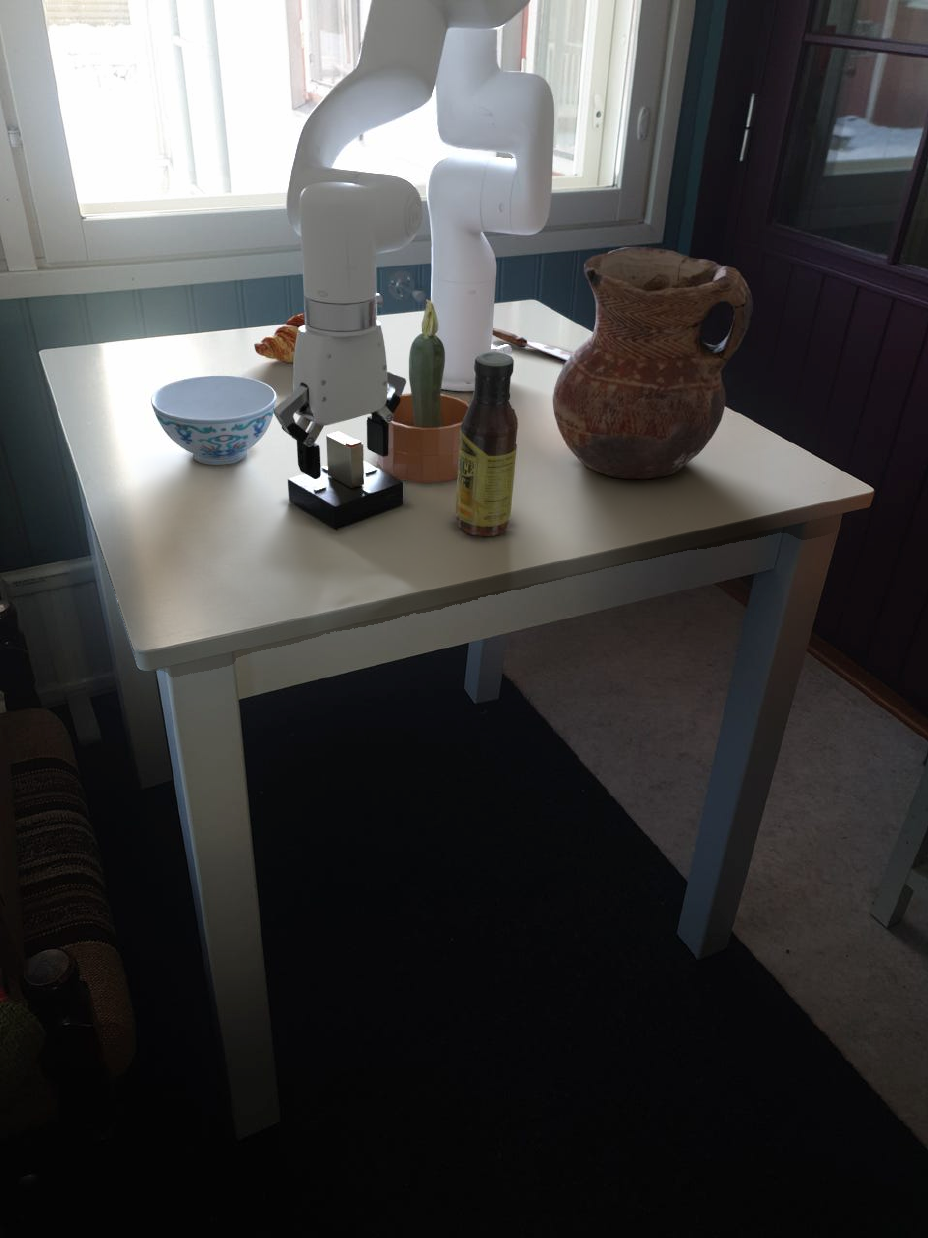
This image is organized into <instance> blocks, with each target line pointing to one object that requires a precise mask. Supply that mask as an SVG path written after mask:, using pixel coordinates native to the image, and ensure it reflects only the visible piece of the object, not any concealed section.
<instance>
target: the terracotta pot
mask: <svg viewBox="0 0 928 1238" xmlns="http://www.w3.org/2000/svg"><path fill="white" fill-rule="evenodd" d="M400 399H401V401H400V404H399V405H398V407H397V408H396V410H395V411H394V413H393V415H394V418H393V421H392V422H390V423H389V443H388V456H385V457H382V456H380V455H378V454H376V460H377V461H376V462H377V465H378V468H379V469H380V470H382V471H384V472H385V473H387V474H389V475H391V476H393V477H395V478H397V479H399V480H401V481H407V482H412V483H423V484H424V483H426V484H427V483H429V484H430V483H441V482H447V481H453V480H457V479H458V459H459V442H460V427H461V424H462V422H463V419H464V417H465V414H466V412H467V410H468V407H469V405H470V402H468V401H466V400H465V399H461V398H459V397H456V396H452V395H448V394H443V393H440V410H441V418H442V427H438V428H422V427H414V423H413V408H412V396H411V392H410V393H402V395H401V396H400Z"/></svg>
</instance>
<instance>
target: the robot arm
mask: <svg viewBox="0 0 928 1238" xmlns="http://www.w3.org/2000/svg"><path fill="white" fill-rule="evenodd" d="M530 3H531V0H371V1H370V6H369V10H368V14H367V19H366V23H365V27H364V32H363V36H362V42H361V46H360V49H359V50H360V51H359V55H358V60H357V63H356V66H355V67H354V69H353V70H351V71H350V72H349V73H348V74H347V75H346V76H345V77H343V78H342V79H341V80H339V82H337V83H336V85H334V87H332V88H331V89H330V90H329V91H328V92H327V93H326V94H325V95H324V96H323V98H322V99H321V100H320V101H319V102H318V104H317V105H315V107H314V108H313V110H312V111H311V112H310V114H308V116H307V118H306V119H305V121H304V123H303V124H302V127H301V128H300V131H299V134H298V137H297V141H296V144H295V149H294V152H293V156H292V163H291V167H290V171H289V176H288V180H287V189H286V200H285V201H286V203H285V204H286V205H285V206H286V214H287V217H288V218H287V219H288V222H289V224H290V226H291V228H292V229H293V231H294V232H295V233H296V234H297V235H298V236H299V237H300V242H301V243H300V245H301V264H302V283H303V286H302V287H303V309H304V313H305V325H304V326H301V327H299V329H298V333H297V338H296V345H295V353H294V362H293V366H292V367H293V368H292V369H293V370H292V371H293V372H292V392H291V393H290V394H289V395H288V396H287V397H286V398H285V399H284V400H282V401H281V402H280V403H279V404H278V405H277V406H275V409H274V414H273V416H274V417H275V418H276V420H277V421H278V423H279V425H280V426H281V429H282V431H284V432H285V433H286V434H288V436H290V437H291V438H292V439H293V440H294V441H296V452H297V465H298V468H299V471H300V472H301V473H302V474H306V475H308V476H310V477H312V478H313V479H318V478H320V476H321V468H322V465H321V446H320V445H319V444H317V443H316V441H317V439H318V438H319V436H320V434H321V433H322V431H323V429H324V427H325V426H331V425H334V424H339V423H342V422H345V421H348V420H352V419H356V418H360V417H363V416H366V415H369V414H370V415H369V416H367V417H366V418H367V419H366V448H367V450H368V451H371V452H373V453H374V454H376V455H377V454H378V455H380V456H382V457H385V456H388V443H389V423H390V422H392V421H393V418H394V415H393V413H394V411H395V410H396V408H397V407H398V405H399V404H400V401H401V399H400V396H401V395H402V394H404V393H403V392H404V390H405V387H406V384H407V379H406V378H405V377H404V376H403V377H402V376H400V375H398V374H395V373H393V372H390V371H388V364H387V352H386V347H385V340H384V333H383V330H382V329H383V328H382V326H381V322H379V321H378V314H377V313H378V311H377V310H378V309H377V308H379V307H382V306H383V303H384V300H383V296H382V295H381V294H380V293H377V254H382V253H388V252H395V251H399V250H401V249H404V248H405V247H407V246H409V244H410V243H411V242H412V241H413V240H414V239H415V237H416V236H417V234H418V232H419V230H420V229H421V227H422V226H421V225H422V222H423V213H424V211H423V200H422V197H421V194H420V192H419V190H418V188H417V187H416V186H415V184H413V182H411V180H409V179H407V178H406V177H403V176H401V175H398V174H393V173H387V172H376V171H367V170H362V169H361V170H360V169H350V168H339V167H333V166H334V164H335V162H336V160H337V158H338V157H339V155H340V154H341V152H342V151H343V150H344V149H345V148H346V146H347V145H349V144H350V143H352V142H353V141H354V140H355V139H356V138H358V137H359V136H361V135H363V134H365V133H366V132H368V131H370V130H373V129H376V128H378V127H381V126H382V125H385V124H388V123H390V122H392V121H393V122H394V121H395V120H397V119H400V118H402V117H405V116H407V115H410V114H411V113H415V112H416V111H418V110H419V109H421V108H423V107H424V106H426V105H427V104H428V103H429V102H430V100H431V99H432V101H433V102H432V103H433V117H434V118H433V119H434V126H435V130H436V134H437V136H438V138H439V140H441V142H442V143H444V144H445V145H447V146H449V147H452V148H457V149H463V150H471V151H480V152H493V153H501V154H502V153H503V154H509V155H511V156H512V157H513V158H512V159H511V158H503V157H494V156H487V155H475V154H451V155H446V156H443V157H441V158H439V159H437V160H436V161H435V162H434V163H433V165H431V167H430V169H429V170H428V171H429V172H428V175H427V178H426V201H427V208H428V215H429V224H430V234H431V277H430V278H431V281H430V285H431V286H430V289H431V290H430V301H431V302H432V303H433V306H434V310H435V312H436V317H437V320H438V326H439V327H438V331H437V333H435V335H436V336H437V337H438V338H439V339H440V340H441V342H442V343H443V346H444V350H445V366H444V372H443V378H442V385H441V390H444V391H445V390H447V391H453V392H474V389H475V371H474V362H475V357H476V356H478V355H479V354H481V353H484V352H485V353H486V352H499V353H503V354H507V355H509V356H511V357H512V354H513V348H512V346H511V345H510V344H503V345H500V346H498V347H496V346H494V344H493V335H492V334H493V328H494V316H495V314H494V313H495V300H496V299H495V298H496V281H497V279H496V278H497V261H496V256H495V253H494V251H493V248H492V247H491V244H490V243H489V240H488V239H487V238H486V235H485V233H488V232H489V233H499V234H507V235H518V236H531V235H536V234H538V233H539V232H541V231H542V230H543V229H544V228H545V226H546V224H547V222H548V219H549V216H550V211H551V204H552V188H553V165H554V164H553V163H554V162H553V161H554V160H553V159H554V137H555V136H554V134H555V133H554V132H555V106H554V105H555V104H554V95H553V91H552V89H551V87H550V85H549V82H548V81H547V80H546V79H545V78H544V77H543V76H541V75H539V74H537V73H536V74H535V73H534V72H533V73H532V72H527V71H526V72H525V71H515V70H514V71H513V70H502V69H501V68H500V66H499V59H498V29H500V28H502V27H504V26H506V25H507V24H508V23H509V22H510V21H512V20H513V19H514V18H515V17H516V16H518V14H520V13H521V12H522V11H523V10H524V9H525V8H526V7H527V6H528V5H529V4H530ZM295 414H297V415H298V416H299V418H298V420H297V422H296V420H295V418H294V415H295ZM310 424H311V425H310ZM309 426H310V427H309Z"/></svg>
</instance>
